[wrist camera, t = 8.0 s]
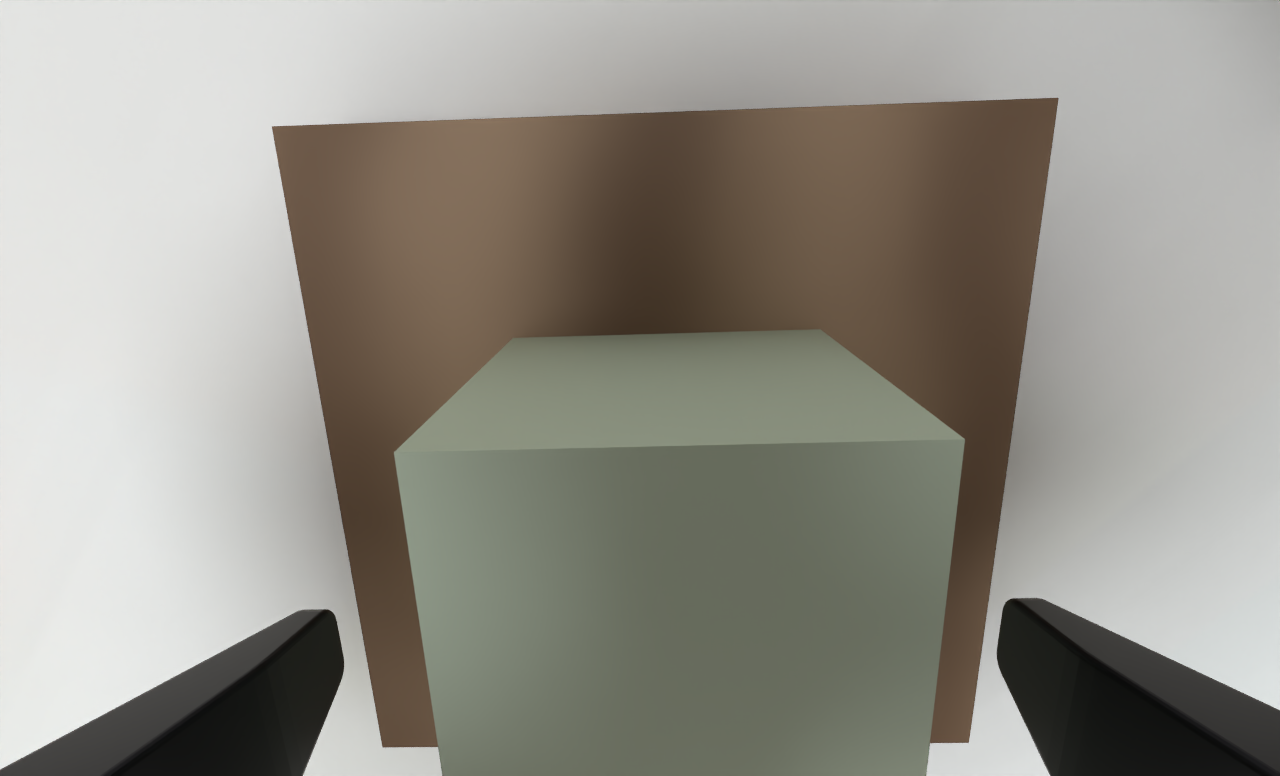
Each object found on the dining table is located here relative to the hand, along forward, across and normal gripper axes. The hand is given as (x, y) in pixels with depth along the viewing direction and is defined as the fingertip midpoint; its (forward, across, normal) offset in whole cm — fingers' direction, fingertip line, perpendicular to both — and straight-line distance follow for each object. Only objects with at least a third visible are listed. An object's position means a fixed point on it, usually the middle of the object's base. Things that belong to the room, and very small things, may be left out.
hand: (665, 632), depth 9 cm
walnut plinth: (+8, 0, 0) cm, 8 cm away
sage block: (+5, 0, 0) cm, 5 cm away
